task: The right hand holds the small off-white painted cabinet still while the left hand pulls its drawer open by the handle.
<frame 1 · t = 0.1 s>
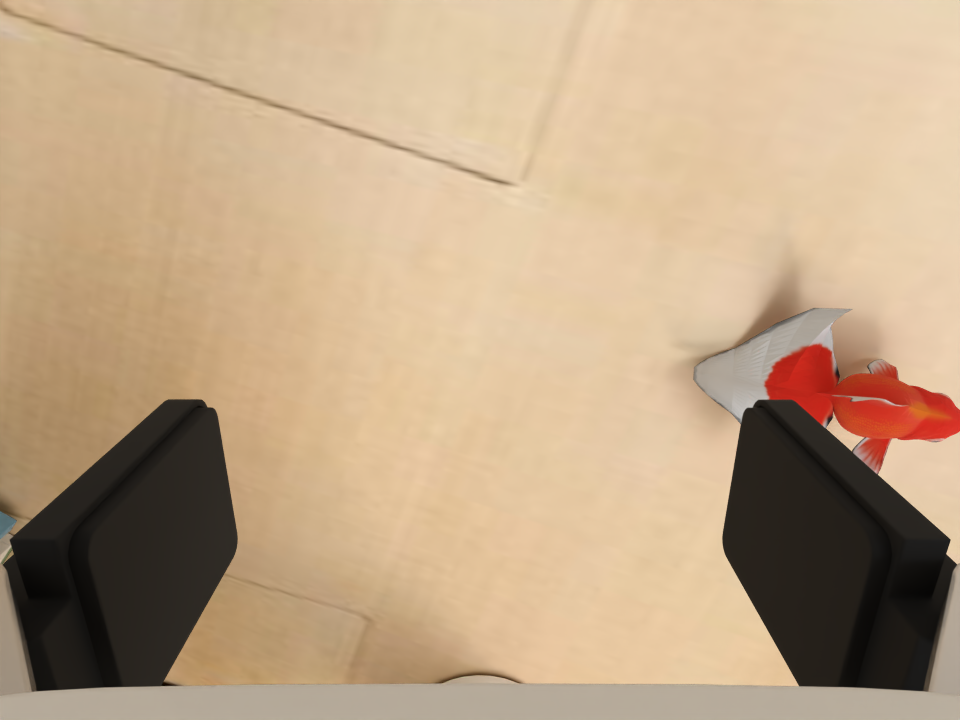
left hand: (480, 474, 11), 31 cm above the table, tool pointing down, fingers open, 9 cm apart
fish: (791, 376, 44), on the table
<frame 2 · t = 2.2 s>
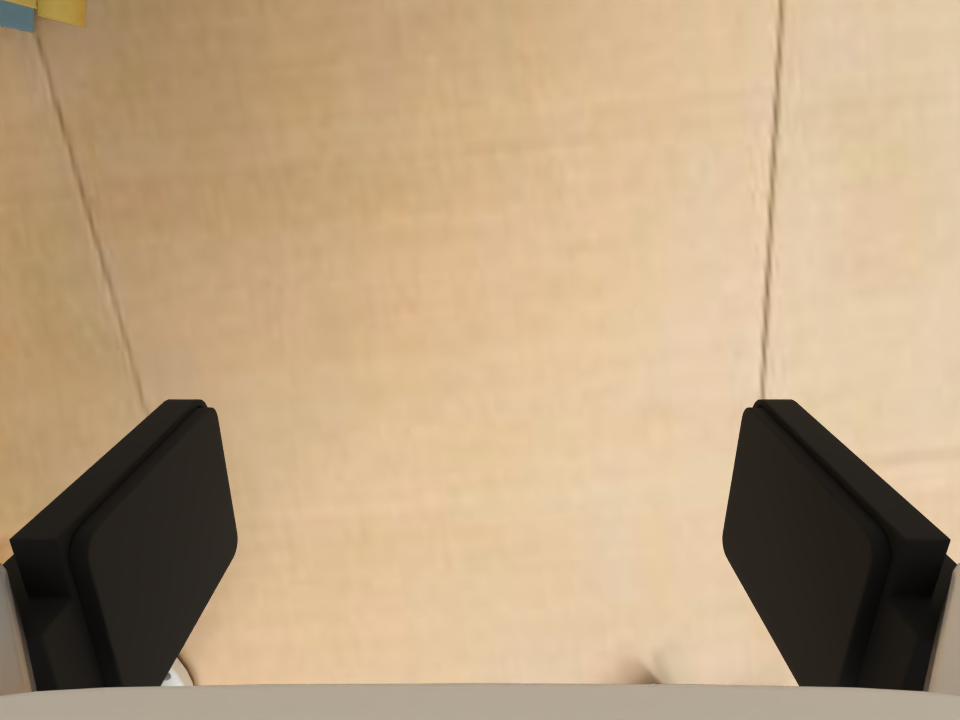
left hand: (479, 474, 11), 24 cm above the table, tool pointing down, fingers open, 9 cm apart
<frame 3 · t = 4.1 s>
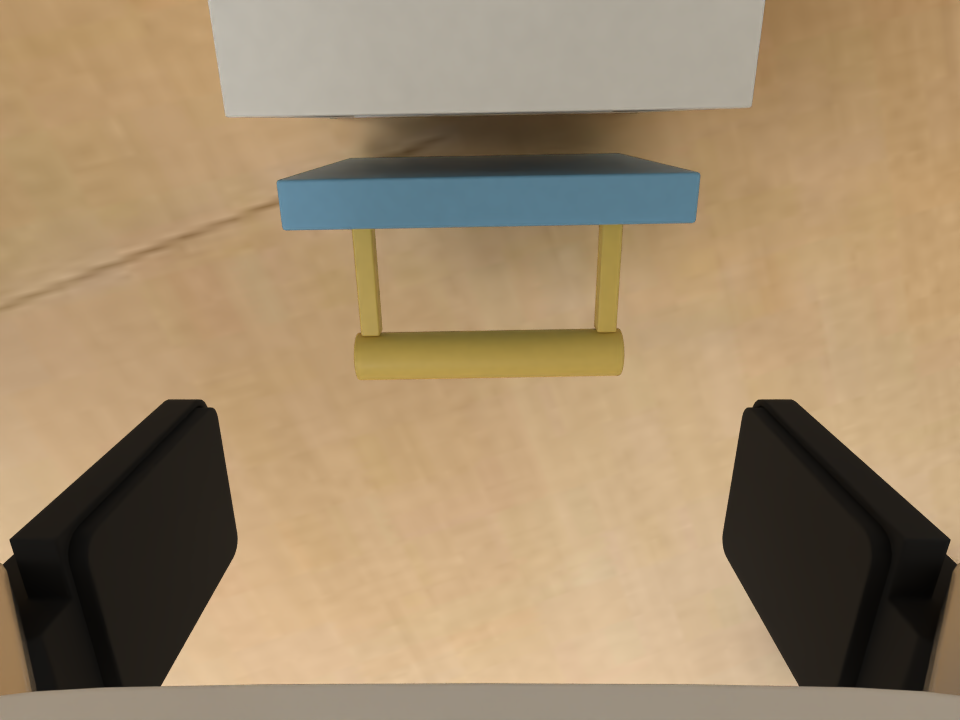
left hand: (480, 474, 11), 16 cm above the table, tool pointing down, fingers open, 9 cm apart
drawer: (483, 1, 18), point 6 cm above the table, slide at 1.4 cm
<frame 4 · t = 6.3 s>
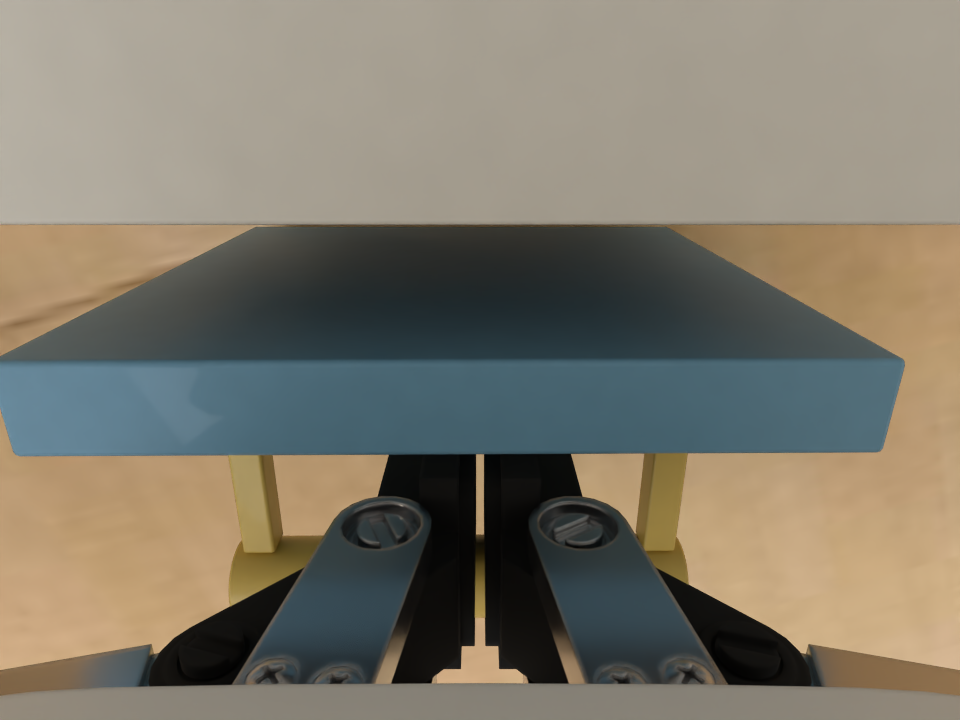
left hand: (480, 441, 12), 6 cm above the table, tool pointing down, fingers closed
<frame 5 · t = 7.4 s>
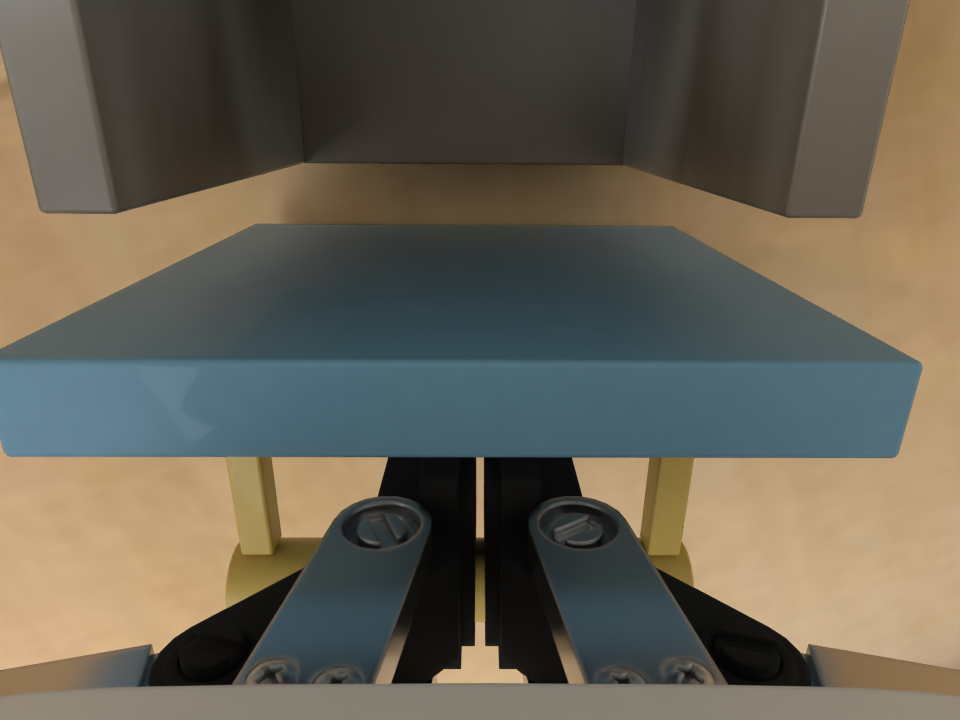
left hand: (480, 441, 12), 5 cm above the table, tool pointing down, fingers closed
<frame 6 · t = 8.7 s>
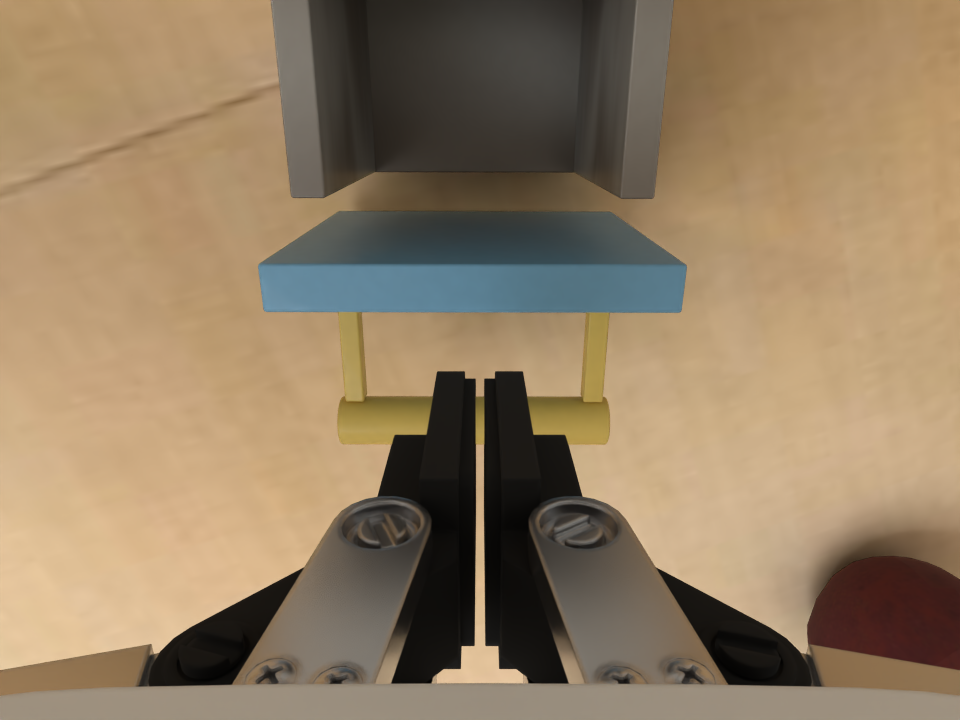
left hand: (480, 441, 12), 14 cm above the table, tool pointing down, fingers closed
drawer: (473, 73, 17), point 6 cm above the table, slide at 7.0 cm
potato: (855, 588, 31), on the table
when the right hand's fingers open (6 cm above the table, at t = 9.4 s): cabinet stays where it is, on the table.
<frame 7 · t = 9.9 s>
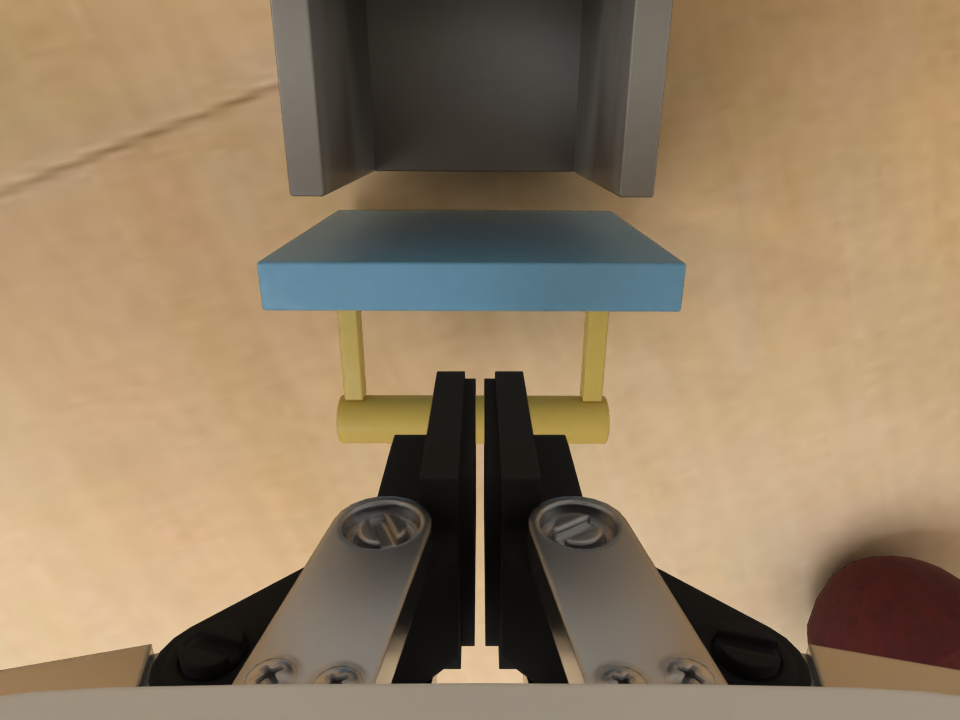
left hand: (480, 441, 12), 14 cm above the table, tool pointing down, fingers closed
drawer: (473, 72, 17), point 6 cm above the table, slide at 7.0 cm
potato: (855, 588, 31), on the table
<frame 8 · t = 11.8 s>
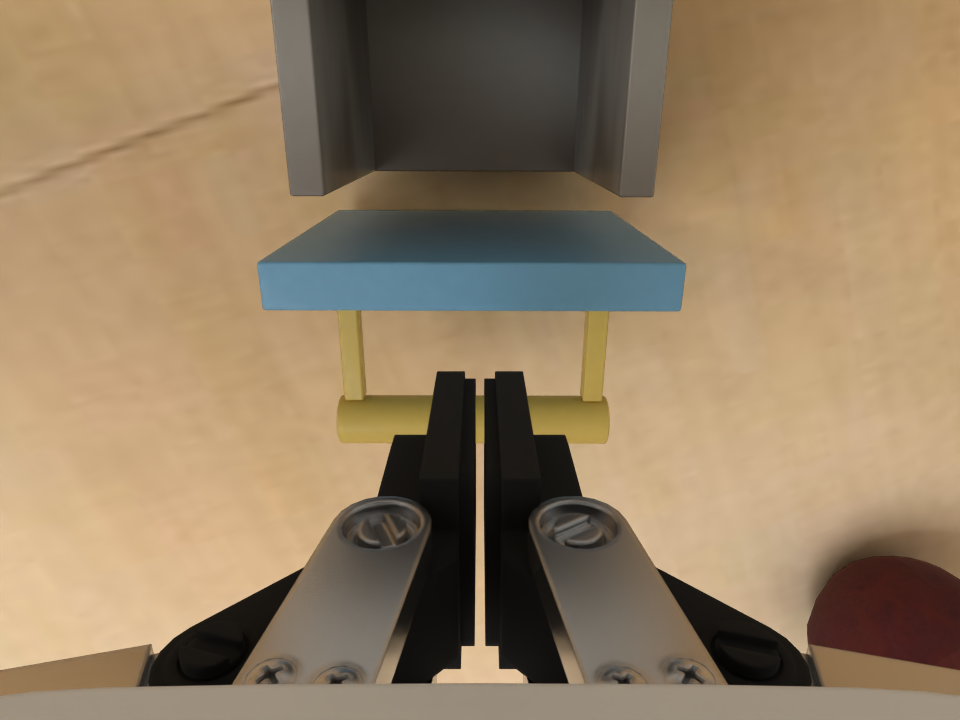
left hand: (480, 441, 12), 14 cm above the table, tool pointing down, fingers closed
drawer: (473, 72, 17), point 6 cm above the table, slide at 6.9 cm
potato: (855, 588, 31), on the table
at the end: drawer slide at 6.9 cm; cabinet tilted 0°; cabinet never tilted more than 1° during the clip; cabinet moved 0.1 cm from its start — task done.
